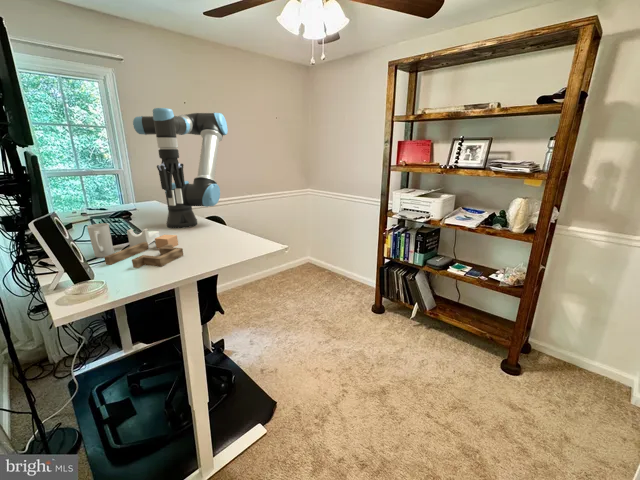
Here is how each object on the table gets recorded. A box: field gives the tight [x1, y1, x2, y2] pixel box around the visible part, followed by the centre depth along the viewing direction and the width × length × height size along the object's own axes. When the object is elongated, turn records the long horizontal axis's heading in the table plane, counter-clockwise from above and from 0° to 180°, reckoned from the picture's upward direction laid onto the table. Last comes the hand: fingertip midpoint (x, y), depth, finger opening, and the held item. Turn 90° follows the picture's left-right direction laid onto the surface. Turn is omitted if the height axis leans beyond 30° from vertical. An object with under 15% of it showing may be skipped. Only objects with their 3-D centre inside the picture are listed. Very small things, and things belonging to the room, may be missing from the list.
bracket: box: [126, 228, 161, 247], centre depth 133 cm, size 13×7×8 cm, turn 6°
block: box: [154, 234, 179, 250], centre depth 128 cm, size 6×6×4 cm
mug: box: [86, 222, 115, 258], centre depth 116 cm, size 10×7×12 cm, turn 22°
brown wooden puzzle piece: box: [103, 242, 184, 269], centre depth 115 cm, size 18×21×3 cm
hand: (176, 204), depth 132 cm, fingers open, 4 cm apart
